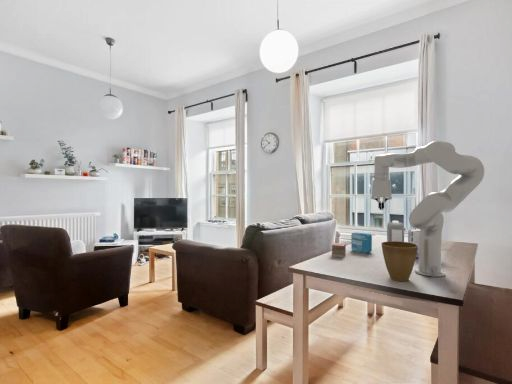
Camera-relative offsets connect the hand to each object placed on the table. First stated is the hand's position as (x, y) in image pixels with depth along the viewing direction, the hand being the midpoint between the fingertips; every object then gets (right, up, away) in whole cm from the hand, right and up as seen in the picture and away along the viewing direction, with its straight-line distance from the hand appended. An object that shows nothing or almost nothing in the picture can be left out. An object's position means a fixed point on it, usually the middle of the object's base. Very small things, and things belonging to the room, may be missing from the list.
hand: (381, 209), depth 167 cm
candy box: (+28, -29, +9) cm, 41 cm away
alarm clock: (+19, -29, +25) cm, 43 cm away
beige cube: (-20, -22, +14) cm, 33 cm away
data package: (-2, -29, +25) cm, 39 cm away
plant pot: (-5, -30, -32) cm, 44 cm away
